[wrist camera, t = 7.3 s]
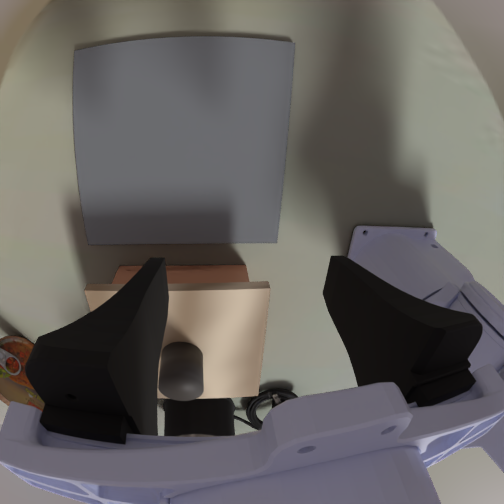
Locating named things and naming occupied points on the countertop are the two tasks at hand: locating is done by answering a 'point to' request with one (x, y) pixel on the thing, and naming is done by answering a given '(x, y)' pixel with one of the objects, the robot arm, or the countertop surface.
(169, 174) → the slate mat
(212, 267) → the terracotta dish
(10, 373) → the tin
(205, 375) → the birch lid
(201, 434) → the milk frother
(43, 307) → the countertop surface
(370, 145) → the countertop surface
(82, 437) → the robot arm
